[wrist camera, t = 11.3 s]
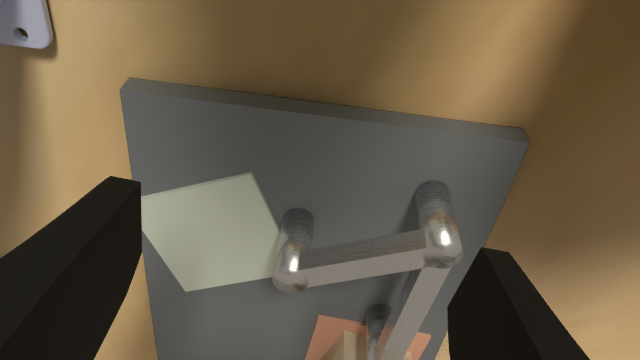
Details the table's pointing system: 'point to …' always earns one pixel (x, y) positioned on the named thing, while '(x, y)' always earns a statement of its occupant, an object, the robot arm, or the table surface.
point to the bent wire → (378, 266)
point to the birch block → (351, 348)
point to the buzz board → (287, 193)
